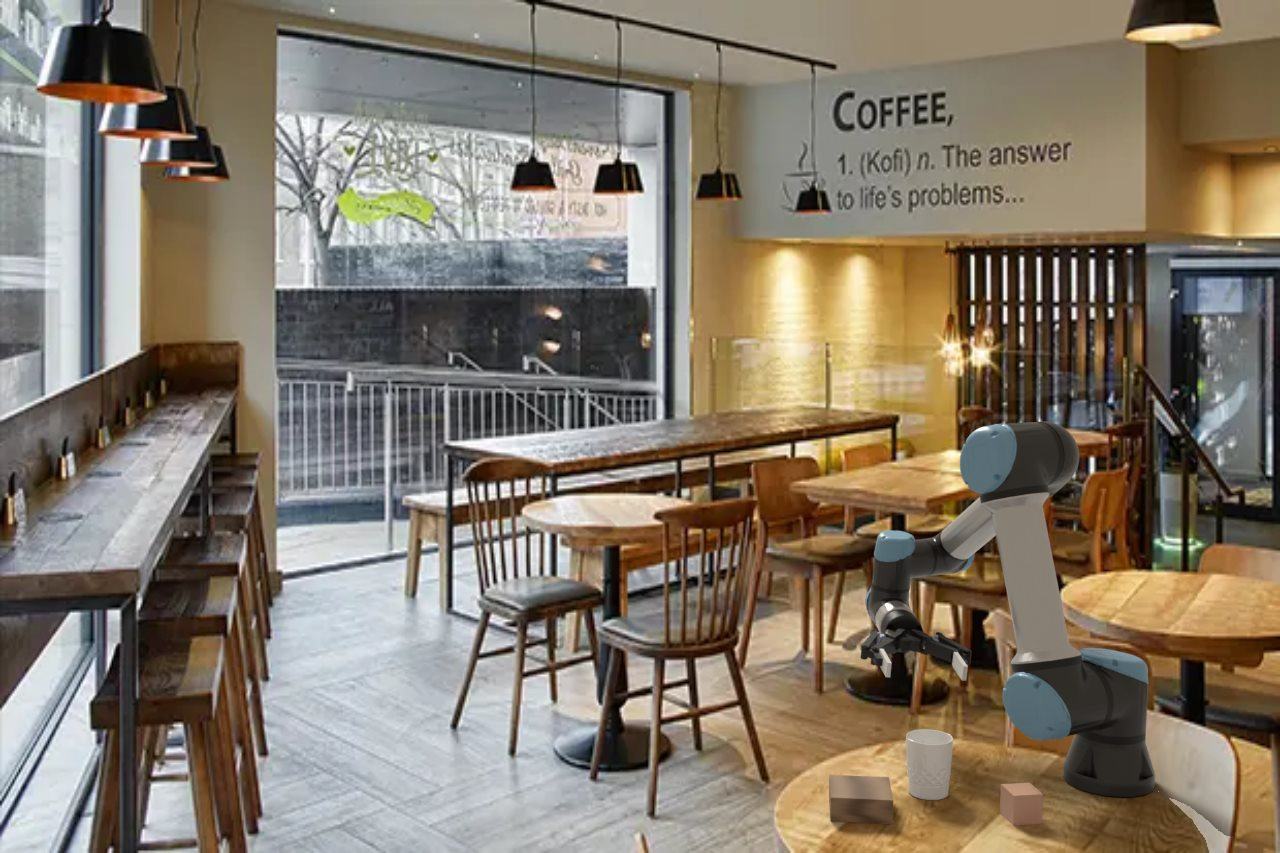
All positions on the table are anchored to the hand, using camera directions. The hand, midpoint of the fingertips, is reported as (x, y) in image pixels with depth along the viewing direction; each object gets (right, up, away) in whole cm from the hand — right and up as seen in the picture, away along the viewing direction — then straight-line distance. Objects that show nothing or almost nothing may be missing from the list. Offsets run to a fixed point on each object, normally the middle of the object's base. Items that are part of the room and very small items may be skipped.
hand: (926, 671), depth 225 cm
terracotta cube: (+12, -21, -16) cm, 29 cm away
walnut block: (-14, -21, -13) cm, 28 cm away
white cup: (-1, -20, -5) cm, 21 cm away
